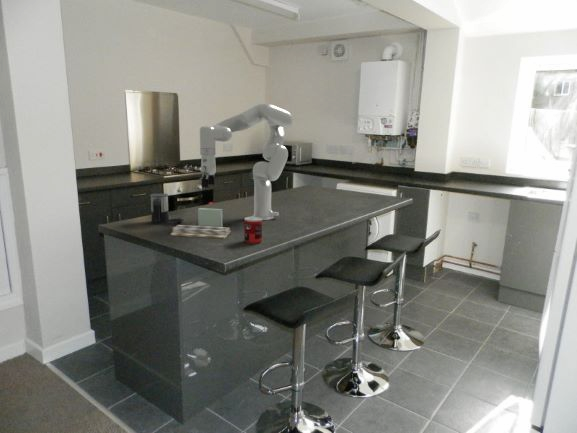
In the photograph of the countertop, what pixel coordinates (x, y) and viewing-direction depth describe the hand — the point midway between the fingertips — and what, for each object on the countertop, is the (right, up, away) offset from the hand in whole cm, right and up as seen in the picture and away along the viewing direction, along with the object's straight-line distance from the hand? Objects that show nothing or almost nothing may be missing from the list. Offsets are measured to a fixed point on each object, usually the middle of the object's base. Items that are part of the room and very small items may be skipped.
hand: (208, 185), depth 212 cm
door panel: (0, -21, +4) cm, 21 cm away
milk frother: (-23, -19, +8) cm, 31 cm away
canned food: (+25, -27, -22) cm, 43 cm away
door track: (-1, -24, -11) cm, 26 cm away
